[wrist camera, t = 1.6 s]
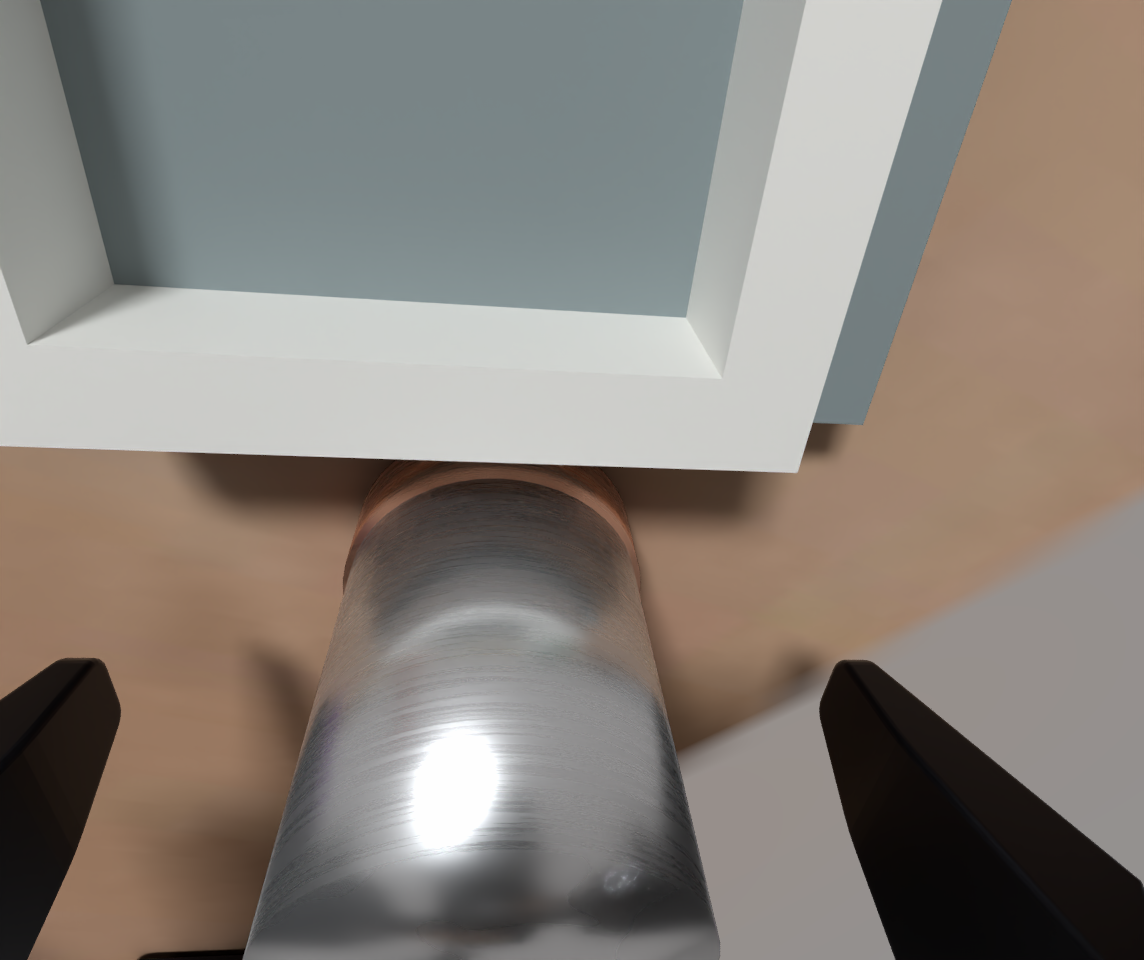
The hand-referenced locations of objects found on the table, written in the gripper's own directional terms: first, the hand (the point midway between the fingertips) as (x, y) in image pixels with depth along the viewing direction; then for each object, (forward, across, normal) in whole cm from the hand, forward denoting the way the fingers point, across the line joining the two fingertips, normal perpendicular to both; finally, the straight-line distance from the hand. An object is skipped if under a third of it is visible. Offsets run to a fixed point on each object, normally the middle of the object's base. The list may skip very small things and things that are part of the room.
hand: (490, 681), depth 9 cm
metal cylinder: (+3, 0, 0) cm, 3 cm away
